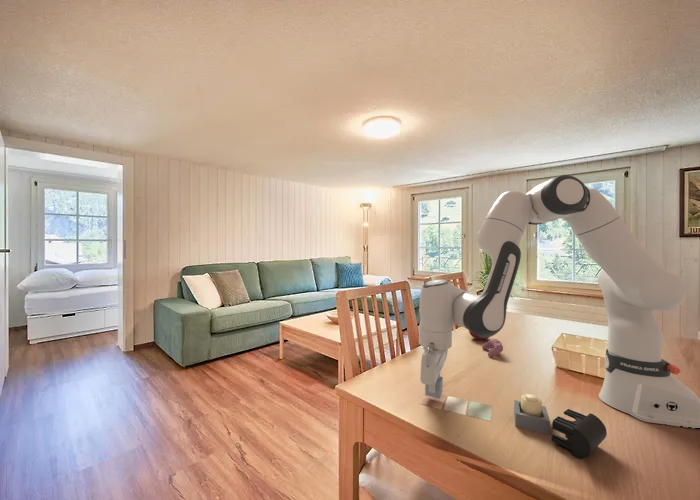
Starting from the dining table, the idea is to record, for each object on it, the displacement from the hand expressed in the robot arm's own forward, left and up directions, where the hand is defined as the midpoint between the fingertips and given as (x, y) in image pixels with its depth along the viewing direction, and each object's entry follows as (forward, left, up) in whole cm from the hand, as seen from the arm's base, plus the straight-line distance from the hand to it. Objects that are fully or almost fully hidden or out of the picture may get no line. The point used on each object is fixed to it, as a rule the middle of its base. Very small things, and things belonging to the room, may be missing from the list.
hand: (434, 387), depth 86 cm
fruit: (-9, -67, -4) cm, 68 cm away
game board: (-6, 0, -4) cm, 7 cm away
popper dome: (-23, 0, -2) cm, 23 cm away
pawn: (0, 0, -2) cm, 2 cm away
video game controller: (-14, -49, -5) cm, 52 cm away
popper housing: (-23, 0, -4) cm, 24 cm away
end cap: (-32, +5, -5) cm, 33 cm away
